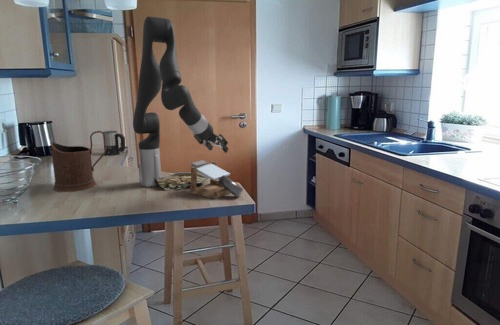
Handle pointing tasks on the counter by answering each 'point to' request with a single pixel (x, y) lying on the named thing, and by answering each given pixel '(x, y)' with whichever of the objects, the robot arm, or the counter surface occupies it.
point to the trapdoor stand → (207, 186)
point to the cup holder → (73, 167)
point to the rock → (179, 180)
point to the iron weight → (230, 186)
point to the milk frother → (113, 143)
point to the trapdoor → (209, 170)
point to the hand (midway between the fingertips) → (219, 149)
